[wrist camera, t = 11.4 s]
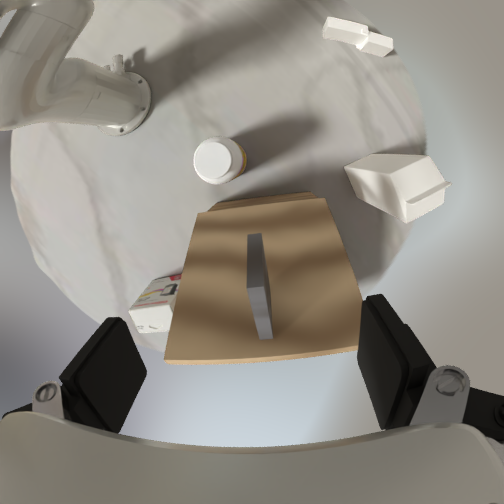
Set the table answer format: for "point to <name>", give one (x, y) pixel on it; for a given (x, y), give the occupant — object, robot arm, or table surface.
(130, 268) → the table surface
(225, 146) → the supplement bottle
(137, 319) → the ink box
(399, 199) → the milk
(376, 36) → the white stepped block
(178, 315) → the lid
